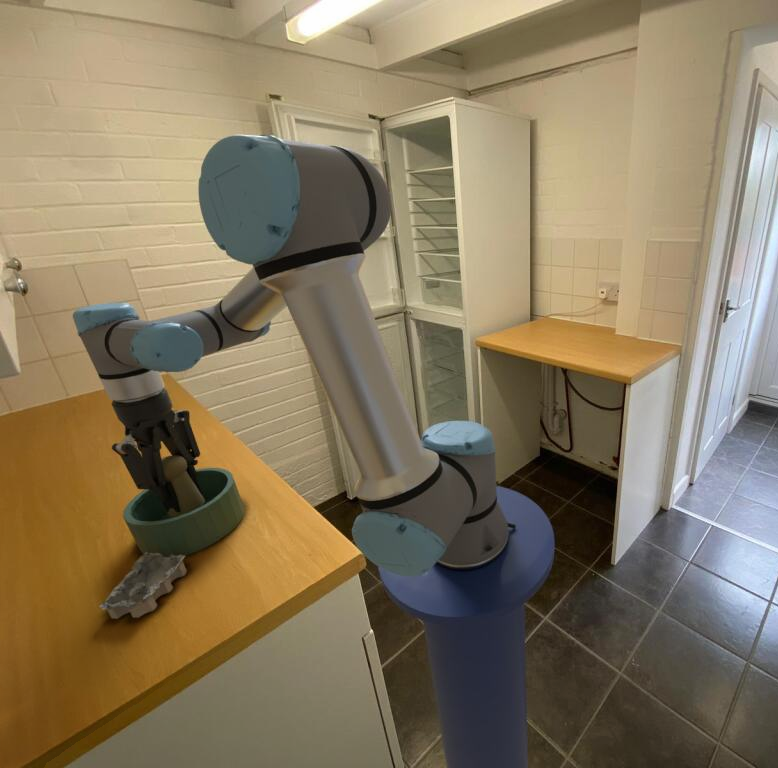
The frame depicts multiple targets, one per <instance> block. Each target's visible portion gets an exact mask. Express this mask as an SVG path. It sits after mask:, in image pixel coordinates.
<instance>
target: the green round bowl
mask: <svg viewBox="0 0 778 768" xmlns="http://www.w3.org/2000/svg"><path fill="white" fill-rule="evenodd" d="M195 470H196V472H197V477H196V480H197V482H198V485H199V487H200V490H201V492H202V494H201V495H202V496H203V498H204V500H205V502H204V504H203V506H201V507H199V508H197V509H195V510H193V511H191V512H189V513H186V514H183V515H181V516H178V517H170V516H168V514H167V511H166V509H165V507H164V505H163V503H162V501H158V500H157V498H156V496H155V494H154V492H153V490H146V489H142V491H140V492H139V493H138V494H137V495H135V496H134V497H133V498H132V499H131V500H129V502H128V503H127V504H126V506H125V508H124V509H123V513H122V514H123V515H122V517H123V520H124V522H125V524H126V526H127V528H128V530H129V531H130V533H131V535H132V537H133V539H134V541H135V544H136V546H137V547H138V549H139V550H140V552H141V554H142V555H144V554H145V553H146V552H147V551H149V552H148V553H159V554H162V555H163V556H165V557H170V555H175V556H179V555H184V556H188V555H191V554H194V553H196V552H199V551H201V550H204V549H206V548H208V547H209V546H210V547H211V546H212V545H214V544H215V543H217V542H219V541H220V540H222V539H223V538H225V537H226V536H227V535H228V534H230V533H231V532H232V531H233V530H234V529H235V528H236V527H237V526H238V525H239V524H240V522H241V521H242V519H243V518H244V514H245V506H244V503H243V500H242V497H241V495H240V492H239V489H238V486H237V484H236V481H235V478H234V475H233V473H232V472H231V471H229V470H228V469H224V468H222V467H204V468H195Z"/></svg>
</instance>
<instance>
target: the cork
mask: <svg viewBox="0 0 778 768" xmlns="http://www.w3.org/2000/svg"><path fill="white" fill-rule="evenodd" d="M161 460H162V465H163V470H164V475H165V480H166V481H167V482H171V483H172V486H173V488H174V490H175V493H176V495H177V498H178V502H179V506H180V511H181V512H176V511H175V510H174V509H173V508H171V509H169V512H167V514H168V516H170V517H178V516H181V515H183V514H186V513H189V512H191V511H193V510H195V509H197V508H199V507H201V506H203V504H204V502H205V500H204V498H203V496H202V495H201V493H200V492H199V490H198V489H197V487H196V485H195V484H194V482H193V481H192V479H191V478H190V476H189V474H188V473H187V471H186V469H187V462H186V460H185V459H184V458H183V457H182V456H179V455H171V454H170V455H167V456H163V457H161Z"/></svg>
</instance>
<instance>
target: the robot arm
mask: <svg viewBox="0 0 778 768" xmlns="http://www.w3.org/2000/svg"><path fill="white" fill-rule="evenodd" d="M200 168H201V169H200V176H199V178H198V187H197V189H198V203H199V208H200V212H201V216H202V219H203V222H204V225H205V228H206V230H207V232H208V233H209V235H210V237H211V239H212V240H213V242H214V243H215V245H216V246H217V247H218V248H219V249H220V250H222V251H224V252H225V254H226V256H228V257H230V258H231V259H232V260H234V261H237V262H239V263H243V264H246V265H250V266H251V265H252V268H251V269H250V270H249V271H248V272H246V274H245V275H244V276H243V277H242V278H241V279H240V280H239V281H238V282H237V283H236V284H235V286H234V287H233V288H231V290H229V292H228V293H227V294H226V295H224V297H222V299H221V300H219V302H217V304H215V305H212V306H209V307H204V308H201V309H195V310H192V311H188V312H183V313H179V314H175V315H170V316H166V317H161V318H158V319H157V318H156V319H152V320H143V319H140V315H139V314H138V313H137V311H136V310H135V307H134V306H133V305H132V304H131V303H128V302H106V303H99V304H92V305H88V306H84V307H81V308H77V309H76V310H74V312H72V319H73V322H74V325H75V327H76V330H77V336H78V337H80V340H81V342H82V344H83V346H84V348H85V350H86V352H87V355H88V356H89V359H90V360H91V362H92V365H93V367H94V369H95V371H96V374H97V375H98V378H99V380H100V382H101V385H102V386H103V389H104V391H105V393H106V396H107V397H108V399H109V400H111V401H112V402H111V406H112V409H113V410H114V413H115V416H116V417H117V420H118V421H119V422H120V423H121V424H122V425H123V426H124V435H125V437H124V438H123V439H122V440H121V441H120V442H119V443H117V442H115V443H113V444H112V445H111V449H112V451H113V452H115V453H116V454H117V455H119V456H120V458H121V460H122V462H123V464H124V466H125V468H126V470H127V471H128V474H129V475H130V478H131V479H132V481H133V483H134V484H135V486H136V488H137V489H138V490H145V489H146V490H153V492H154V494H155V496H156V498H157V500H158V501H162V503H163V505H164V507H165V509H166V511H167V512H169V509H171V508H173V509H174V510H175V511H176V512H181V511H180V506H179V502H178V498H177V495H176V493H175V490H174V488H173V486H172V483H171V482H167V481H166V480H165V475H164V470H163V465H162V460H161V458H162V455H161V449H162V443H163V445H164V446H165V448H166V449H167V451H169V454H170V456H171V455H179V456H182V457H183V458H184V459H185V460H186V462H187V469H186V471H187V473H188V474H189V476H190V478H191V479H192V481H193V482H194V484H195V485H196V487H197V489H198V490H199V492H200V493H201V494H202V492H201V490H200V487H199V485H198V482H197V480H196V477H197V472H196V467H195V466H197V465H198V463H199V460H198V459H196V458H199V457H200V456H201V452H200V448H199V446H198V442H197V439H196V436H195V434H194V431H193V428H192V424H191V423H190V422H191V421H190V417H191V416H190V411H189V410H182V409H181V410H179V409H178V410H173V406H174V405H173V401H172V400H171V398H170V394H169V392H168V390H167V389H166V388H164V387H165V386H166V385H165V382H164V380H163V377H162V375H161V373H180V372H181V373H182V372H185V371H188V370H190V369H192V368H194V367H195V366H196V365H197V363H199V361H201V359H202V358H204V357H207V356H209V355H213V354H215V353H217V352H221V351H223V350H227V349H230V348H234V347H237V346H240V345H242V344H246V343H250V342H253V341H255V340H257V339H259V338H262V337H265V336H266V335H267V334H268V333H269V332H270V330H271V329H270V327H271V325H272V321H273V319H275V317H277V316H278V315H279V314H280V313H282V312H283V311H284V310H285V309H286V308H287V309H288V311H289V313H290V316H291V319H292V320H293V322H294V325H295V327H296V329H297V332H298V335H299V336H300V339H301V341H302V343H303V346H304V348H305V350H306V352H307V354H308V357H309V359H310V361H311V363H312V366H313V368H314V371H315V373H316V376H317V377H318V380H319V382H320V384H321V387H322V389H323V391H324V393H325V396H326V398H327V401H328V403H329V405H330V408H331V409H332V411H333V414H334V416H335V418H336V421H337V423H338V425H339V427H340V430H341V433H342V435H343V437H344V440H345V441H346V444H347V446H348V448H349V450H350V453H351V455H352V458H353V460H354V462H355V465H356V467H357V469H358V471H359V473H360V475H359V477H358V479H357V481H356V483H355V486H354V493H355V495H356V498H357V500H358V502H359V505H360V508H361V509H362V512H361V513H360V514H358V515H357V516H356V518H355V520H354V521H353V526H352V528H351V536H352V539H353V542H354V543H355V546H356V547H357V548H358V550H359V552H361V554H363V556H364V557H365V558H366V559H367V560H368V561H370V562H371V563H373V564H374V565H376V566H377V567H378V566H379V567H381V568H382V569H384V570H386V571H388V572H390V573H393V574H396V575H400V576H406V577H415V576H420V575H423V574H425V573H427V572H428V571H429V570H430V569H431V568H432V567H433V566H434V565H435V564H437V565H438V566H440V567H442V568H445V569H448V570H452V571H462V572H463V571H473V570H477V569H480V568H483V567H485V566H487V565H489V564H491V563H493V562H494V561H495V560H497V559H498V558H499V557H500V556H501V555H502V554H503V552H504V551H505V549H506V547H507V544H508V541H509V529H508V527H511V528H515V527H516V525H515V524H510V523H507V521H506V518H505V516H504V514H503V512H502V510H501V508H500V506H499V503H498V501H497V489H496V486H497V471H496V469H497V468H496V467H497V466H496V449H497V448H496V446H495V442H494V435H493V433H492V431H491V430H490V429H488V427H486V426H485V425H483V424H481V423H478V422H475V421H470V420H450V421H443V422H439V423H436V424H432V425H431V426H429V427H428V428H426V429H425V430H424V432H423V433H422V435H421V438H420V436H419V433H418V430H417V427H416V424H415V421H414V419H413V417H412V414H411V411H410V408H409V405H408V403H407V401H406V397H405V395H404V392H403V390H402V387H401V385H400V381H399V380H398V377H397V374H396V371H395V368H394V366H393V364H392V361H391V357H390V355H389V352H388V350H387V348H386V345H385V342H384V339H383V337H382V334H381V331H380V328H379V325H378V323H377V321H376V318H375V316H374V312H373V310H372V307H371V305H370V302H369V299H368V297H367V294H366V291H365V288H364V286H363V284H362V281H361V278H360V270H361V267H362V265H363V263H364V261H365V259H366V253H365V251H366V250H367V249H368V248H369V247H370V246H372V245H373V244H374V243H375V242H377V241H378V240H379V239H380V237H381V236H382V235H383V234H384V232H385V231H386V229H387V227H388V224H389V221H390V218H391V213H392V201H391V195H390V194H391V193H390V191H389V188H388V185H387V183H386V180H385V179H384V177H383V175H382V174H381V172H380V171H379V170H378V169H377V167H376V166H375V165H374V164H373V163H372V162H371V161H370V160H369V159H367V158H366V157H365V156H363V155H362V154H360V153H358V152H357V151H355V150H353V149H350V148H346V147H343V146H338V145H327V144H326V145H325V144H319V143H311V142H306V141H299V140H293V139H285V138H279V137H277V136H275V135H272V134H259V135H251V134H250V135H249V134H232V135H228V136H224V137H223V138H221V139H220V140H218V141H217V142H215V143H214V144H213V145H212V146H211V147H210V148H209V150H208V152H207V153H206V155H205V157H204V158H203V161H202V164H201V167H200ZM135 442H136V443H135Z"/></svg>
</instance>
